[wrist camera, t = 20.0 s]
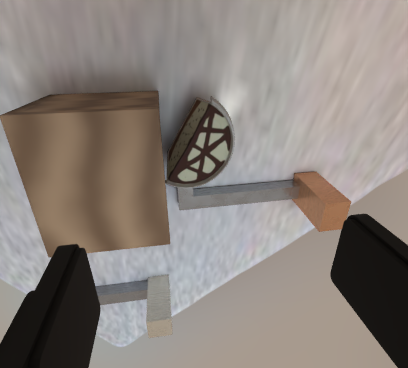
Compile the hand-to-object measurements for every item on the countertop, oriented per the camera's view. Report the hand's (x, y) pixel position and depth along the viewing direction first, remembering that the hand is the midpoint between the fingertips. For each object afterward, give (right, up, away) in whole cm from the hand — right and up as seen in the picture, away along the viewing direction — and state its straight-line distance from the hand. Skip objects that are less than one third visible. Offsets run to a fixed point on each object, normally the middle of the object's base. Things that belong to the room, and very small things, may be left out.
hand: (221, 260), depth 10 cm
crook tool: (+7, +5, +36) cm, 37 cm away
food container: (-1, +11, +32) cm, 34 cm away
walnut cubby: (-14, +8, +31) cm, 35 cm away
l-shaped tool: (-17, -18, +43) cm, 50 cm away
